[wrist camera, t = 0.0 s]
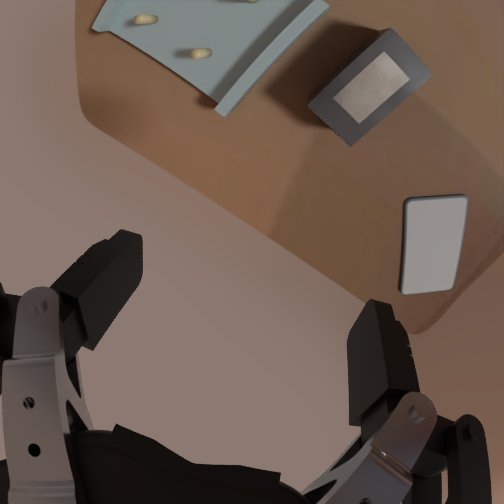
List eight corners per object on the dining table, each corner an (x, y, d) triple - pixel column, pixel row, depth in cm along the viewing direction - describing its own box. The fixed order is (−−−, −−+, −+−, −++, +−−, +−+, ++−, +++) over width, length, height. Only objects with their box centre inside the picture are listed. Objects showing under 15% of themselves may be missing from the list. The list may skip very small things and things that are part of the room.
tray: (181, -73, 14) (162, -84, 11) (328, 10, 19) (330, 4, 16) (109, 26, 22) (85, 28, 19) (233, 109, 27) (221, 119, 24)
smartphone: (469, 195, 26) (453, 290, 35) (466, 191, 27) (451, 285, 35) (404, 199, 29) (400, 296, 37) (403, 195, 30) (399, 291, 38)
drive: (378, 30, 19) (391, 27, 15) (415, 69, 21) (433, 74, 17) (304, 100, 25) (302, 110, 22) (342, 134, 27) (346, 151, 23)
